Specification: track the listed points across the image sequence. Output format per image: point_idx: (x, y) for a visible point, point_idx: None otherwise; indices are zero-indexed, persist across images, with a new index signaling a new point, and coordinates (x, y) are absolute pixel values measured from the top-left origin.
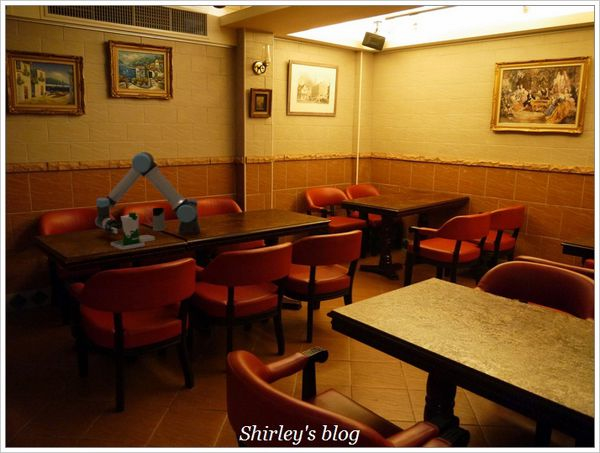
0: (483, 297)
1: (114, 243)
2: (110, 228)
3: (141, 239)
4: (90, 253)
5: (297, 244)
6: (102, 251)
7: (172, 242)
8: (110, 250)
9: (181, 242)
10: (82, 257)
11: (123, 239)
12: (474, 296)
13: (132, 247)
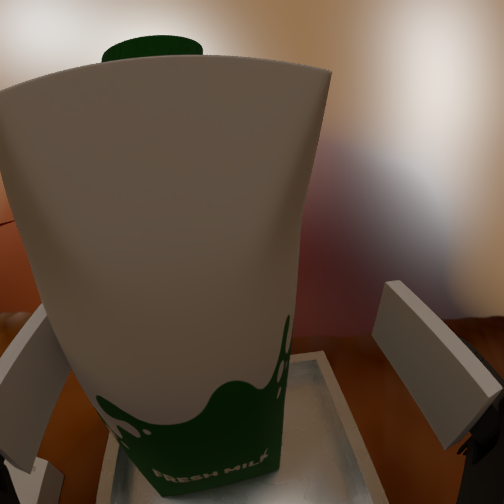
0: None
1: (369, 465)
2: (500, 399)
3: (49, 471)
4: (488, 359)
5: (4, 223)
6: None
7: (9, 338)
8: (397, 386)
9: (3, 317)
10: (491, 316)
11: (283, 416)
12: None
13: None
